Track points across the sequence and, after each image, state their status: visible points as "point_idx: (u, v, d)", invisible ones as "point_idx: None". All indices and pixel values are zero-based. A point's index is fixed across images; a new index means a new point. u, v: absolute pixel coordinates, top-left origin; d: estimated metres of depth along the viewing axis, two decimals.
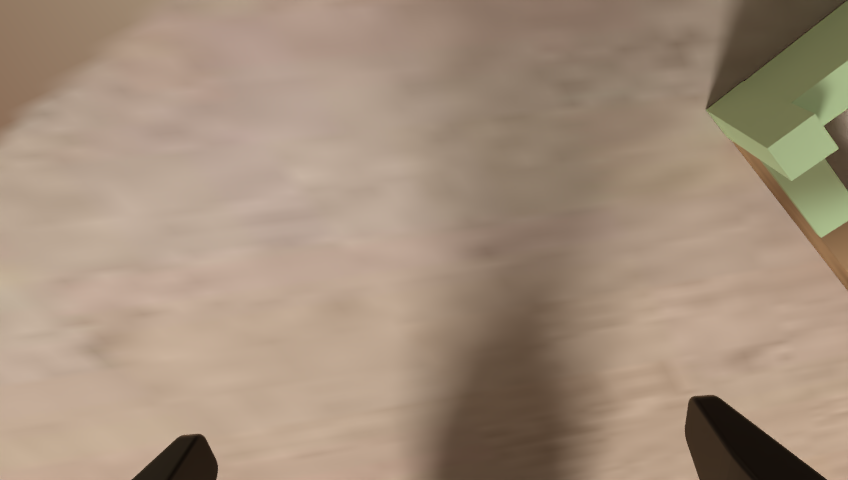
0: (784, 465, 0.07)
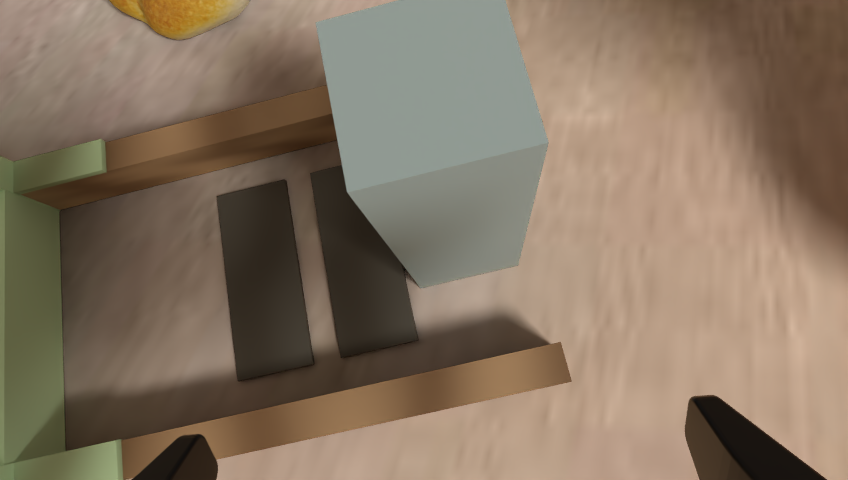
0: (784, 465, 0.07)
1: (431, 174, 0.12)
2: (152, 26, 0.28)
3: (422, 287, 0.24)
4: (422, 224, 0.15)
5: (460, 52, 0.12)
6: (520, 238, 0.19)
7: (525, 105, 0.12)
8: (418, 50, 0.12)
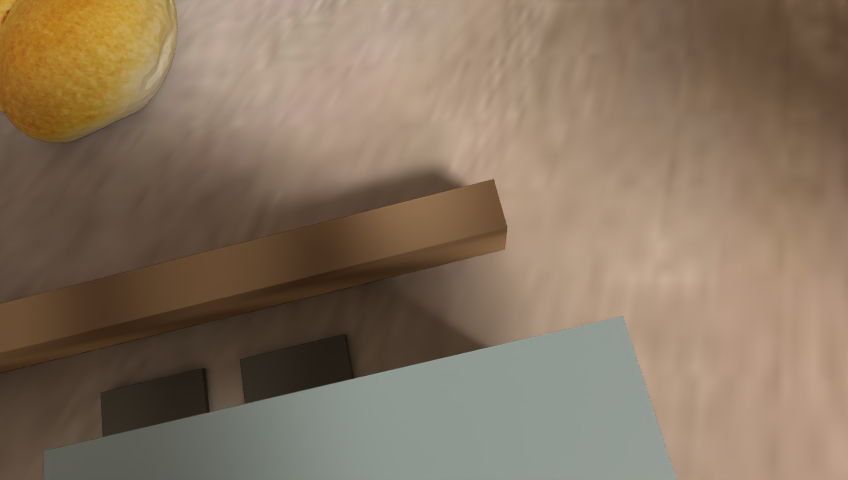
0: None
1: None
2: None
3: None
4: None
5: None
6: None
7: None
8: None
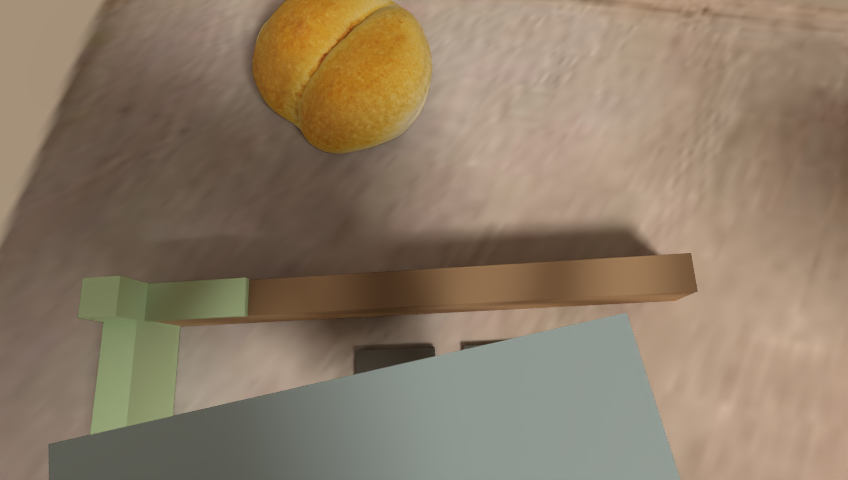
0: None
1: None
2: (306, 138, 0.26)
3: None
4: None
5: None
6: None
7: None
8: None
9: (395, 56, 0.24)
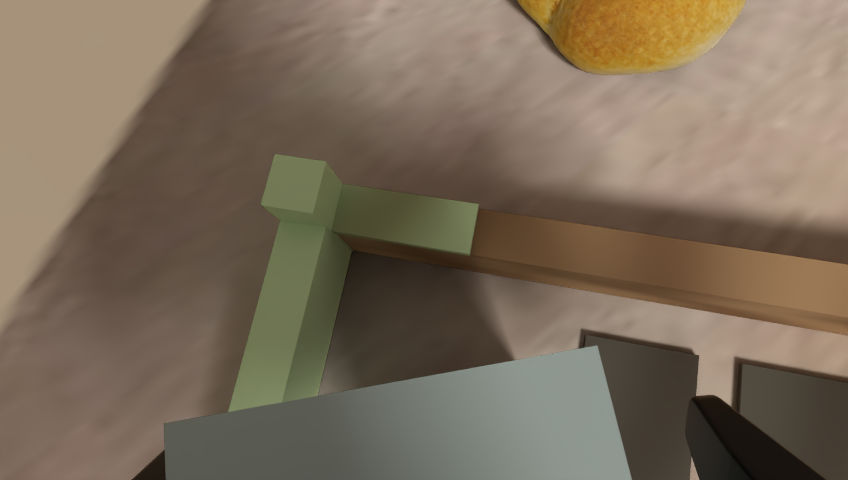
0: (784, 465, 0.07)
1: None
2: (562, 43, 0.19)
3: None
4: None
5: None
6: None
7: None
8: None
9: None
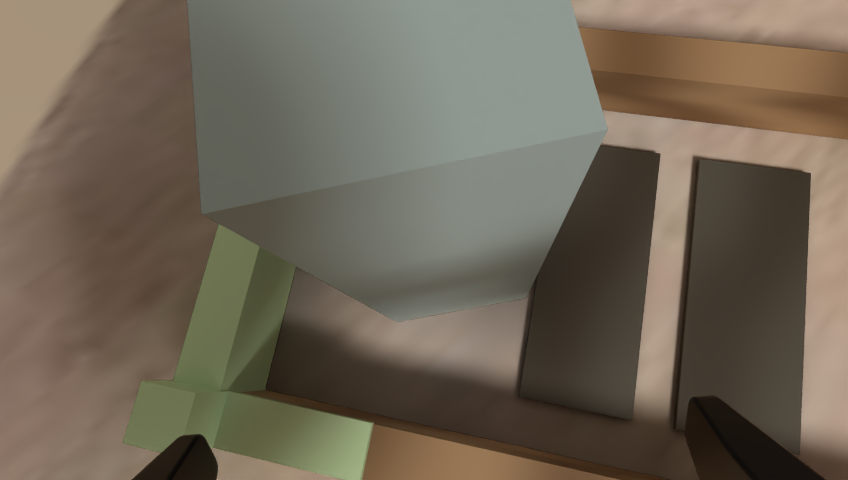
0: (784, 465, 0.07)
1: (370, 185, 0.06)
2: None
3: (399, 321, 0.18)
4: (377, 258, 0.09)
5: None
6: (532, 272, 0.13)
7: (562, 53, 0.06)
8: None
9: None
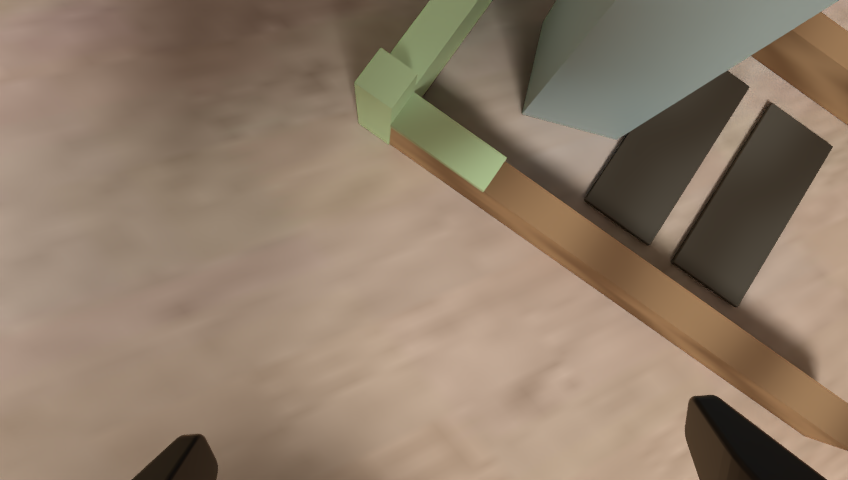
0: (784, 465, 0.07)
1: None
2: None
3: (524, 114, 0.24)
4: (658, 13, 0.15)
5: None
6: (674, 99, 0.19)
7: None
8: None
9: None
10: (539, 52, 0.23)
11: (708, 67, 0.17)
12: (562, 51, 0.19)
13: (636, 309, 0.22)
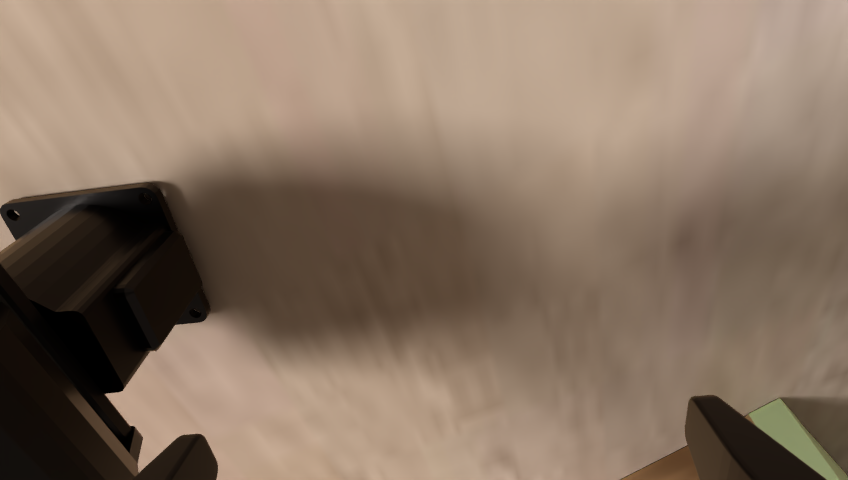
0: (784, 465, 0.07)
1: None
2: None
3: None
4: None
5: None
6: None
7: None
8: None
9: None
10: None
11: None
12: None
13: None
